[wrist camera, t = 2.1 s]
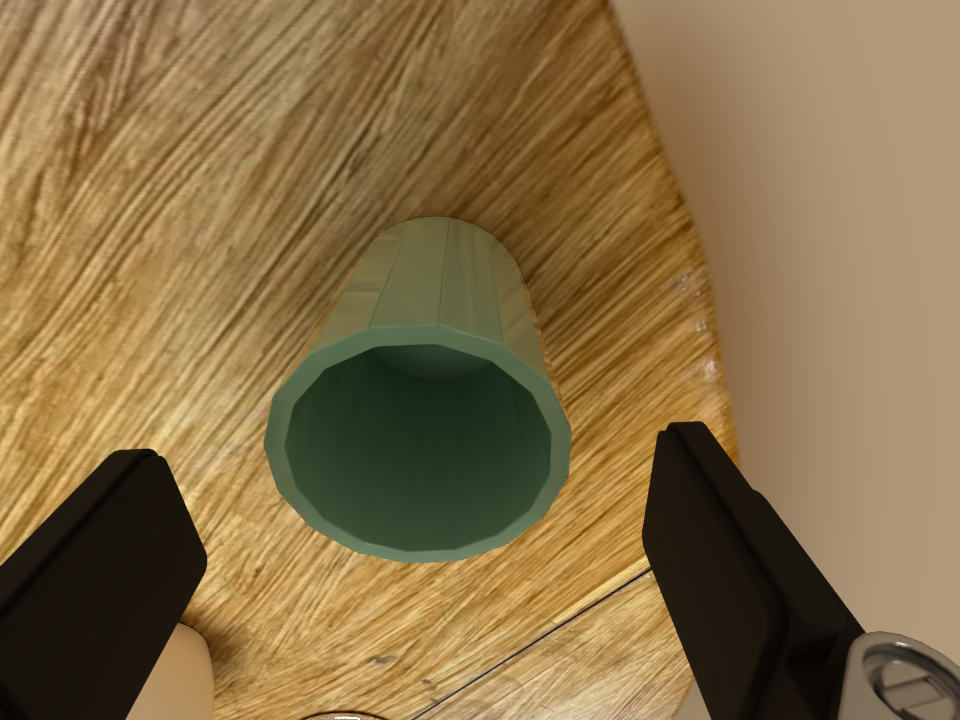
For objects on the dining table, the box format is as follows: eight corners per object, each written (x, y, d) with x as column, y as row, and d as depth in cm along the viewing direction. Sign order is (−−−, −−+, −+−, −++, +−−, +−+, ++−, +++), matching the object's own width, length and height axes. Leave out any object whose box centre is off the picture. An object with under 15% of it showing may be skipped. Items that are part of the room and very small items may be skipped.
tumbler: (333, 220, 15) (226, 334, 8) (526, 211, 15) (579, 317, 8) (363, 384, 18) (301, 570, 11) (525, 376, 18) (564, 556, 11)
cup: (174, 700, 28) (97, 864, 22) (8, 609, 24) (-142, 781, 18) (276, 654, 26) (221, 819, 20) (114, 546, 22) (-14, 715, 16)
